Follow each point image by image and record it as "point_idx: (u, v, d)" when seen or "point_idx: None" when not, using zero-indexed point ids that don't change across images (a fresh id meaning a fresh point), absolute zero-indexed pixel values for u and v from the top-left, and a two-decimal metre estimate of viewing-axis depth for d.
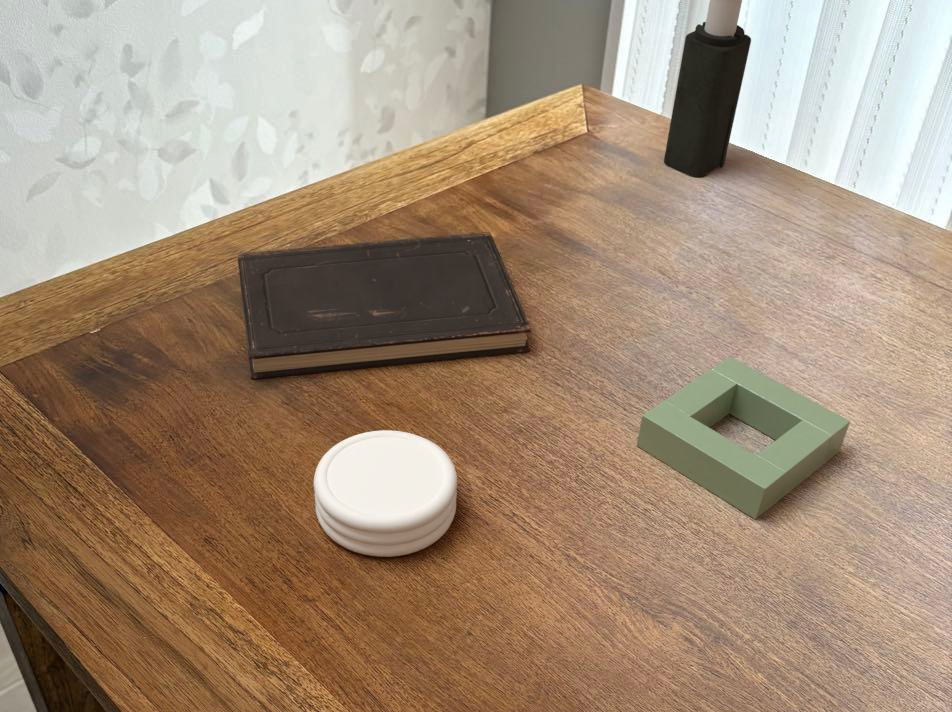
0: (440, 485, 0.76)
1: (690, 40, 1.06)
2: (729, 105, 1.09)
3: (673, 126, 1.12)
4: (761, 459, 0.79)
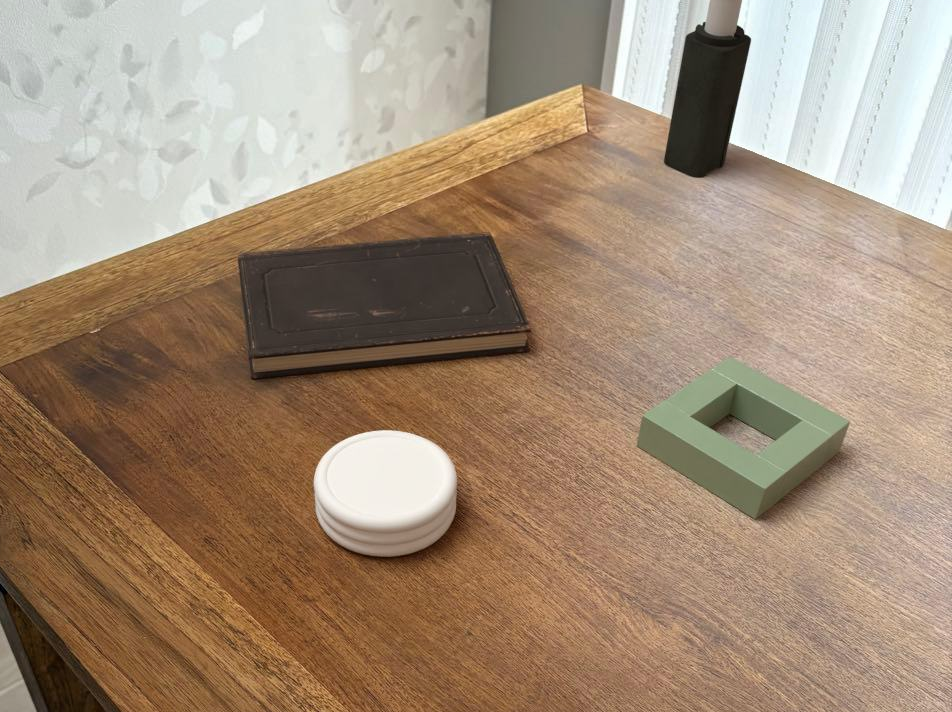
0: (440, 485, 0.76)
1: (690, 40, 1.06)
2: (729, 105, 1.09)
3: (673, 126, 1.12)
4: (761, 459, 0.79)
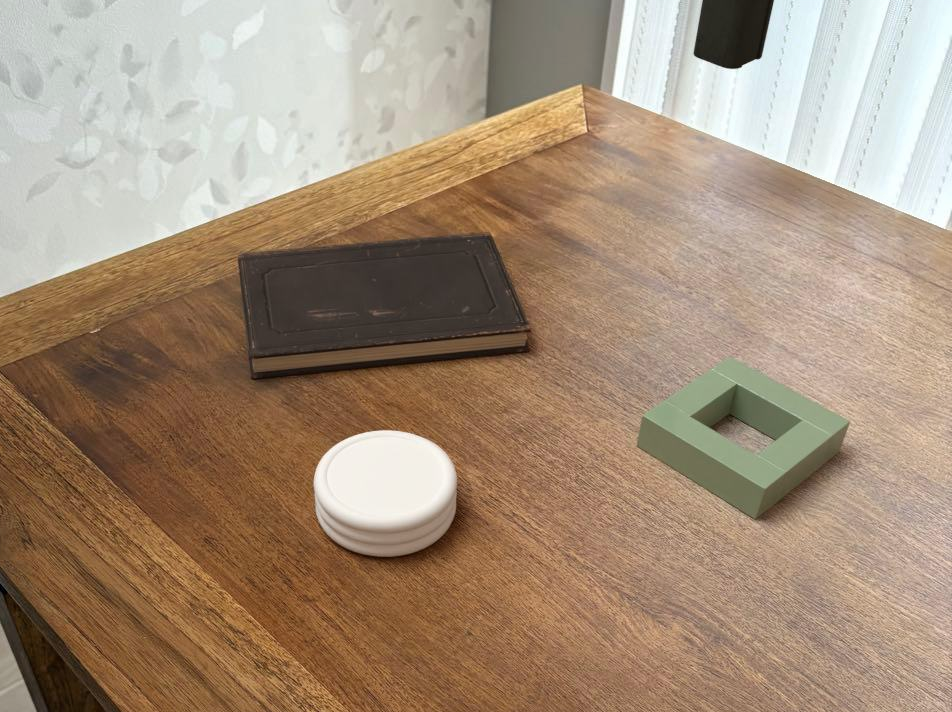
0: (440, 485, 0.76)
1: None
2: None
3: (704, 10, 0.99)
4: (761, 459, 0.79)
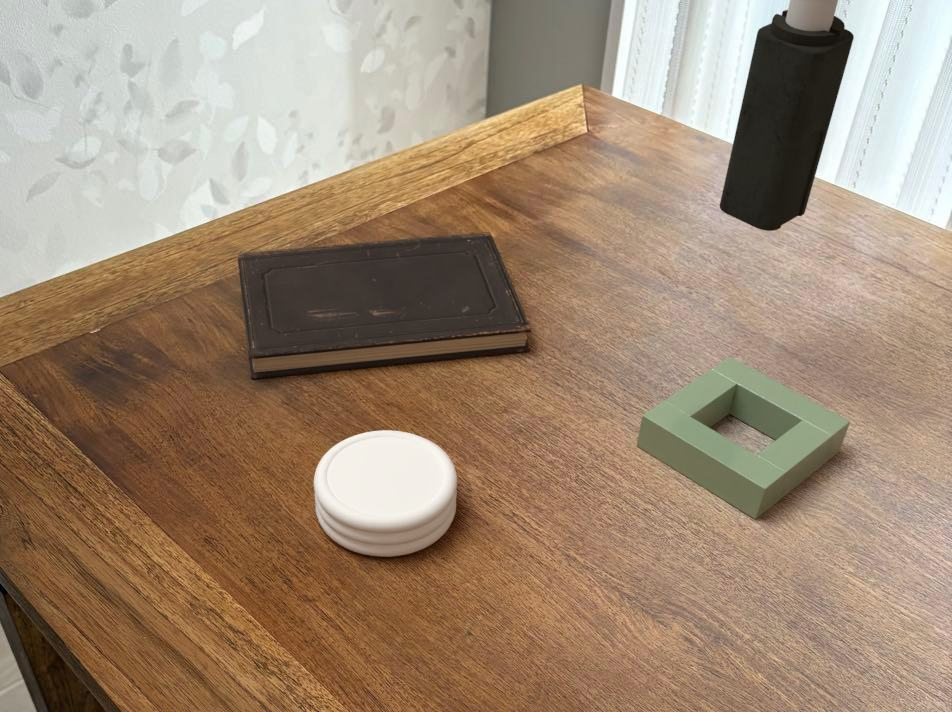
0: (440, 485, 0.76)
1: (765, 37, 0.73)
2: (818, 130, 0.76)
3: (735, 159, 0.79)
4: (761, 459, 0.79)
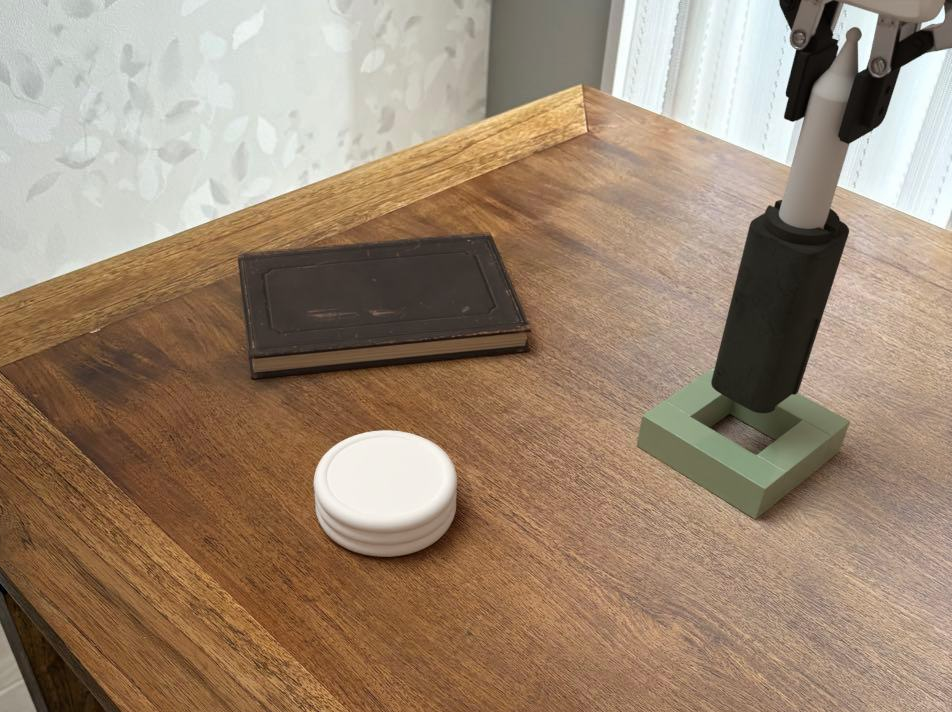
0: (440, 485, 0.76)
1: (757, 232, 0.70)
2: (813, 319, 0.73)
3: (727, 342, 0.76)
4: (761, 459, 0.79)
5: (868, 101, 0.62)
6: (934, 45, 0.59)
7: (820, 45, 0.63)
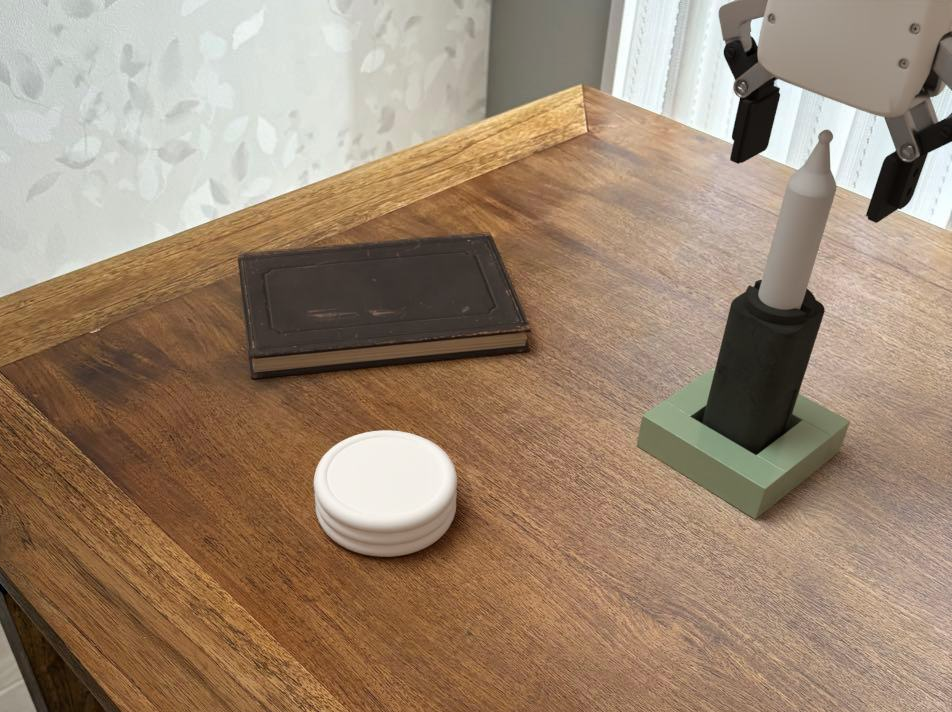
0: (440, 485, 0.76)
1: (738, 311, 0.74)
2: (791, 390, 0.78)
3: (711, 410, 0.80)
4: (761, 459, 0.79)
5: (896, 183, 0.64)
6: None
7: (762, 93, 0.68)
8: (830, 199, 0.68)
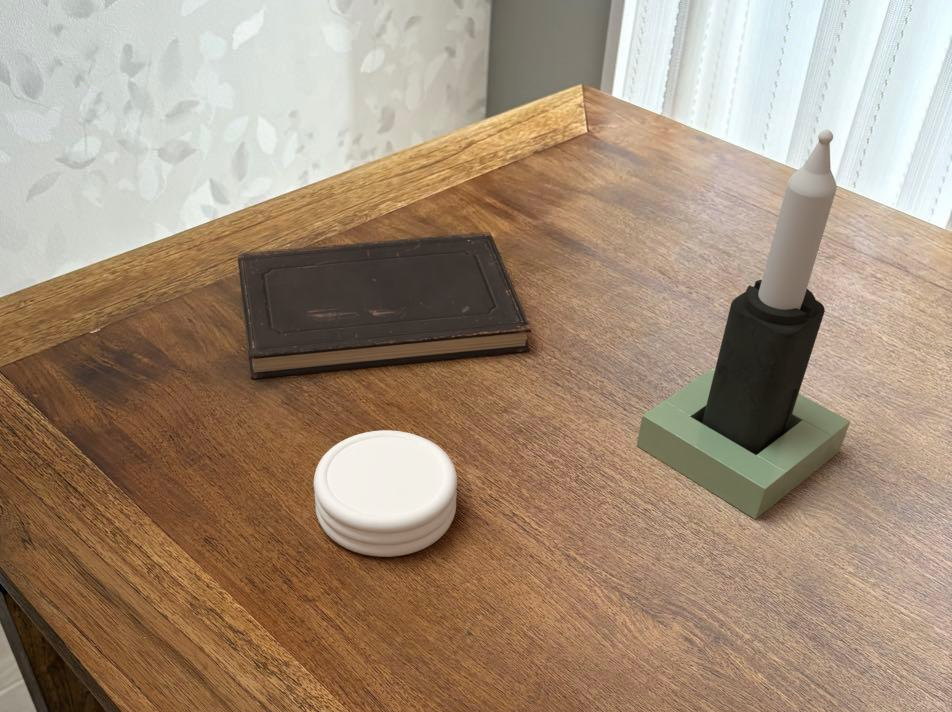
0: (440, 485, 0.76)
1: (738, 311, 0.74)
2: (791, 390, 0.78)
3: (711, 410, 0.80)
4: (761, 459, 0.79)
5: None
6: None
7: None
8: (830, 199, 0.68)
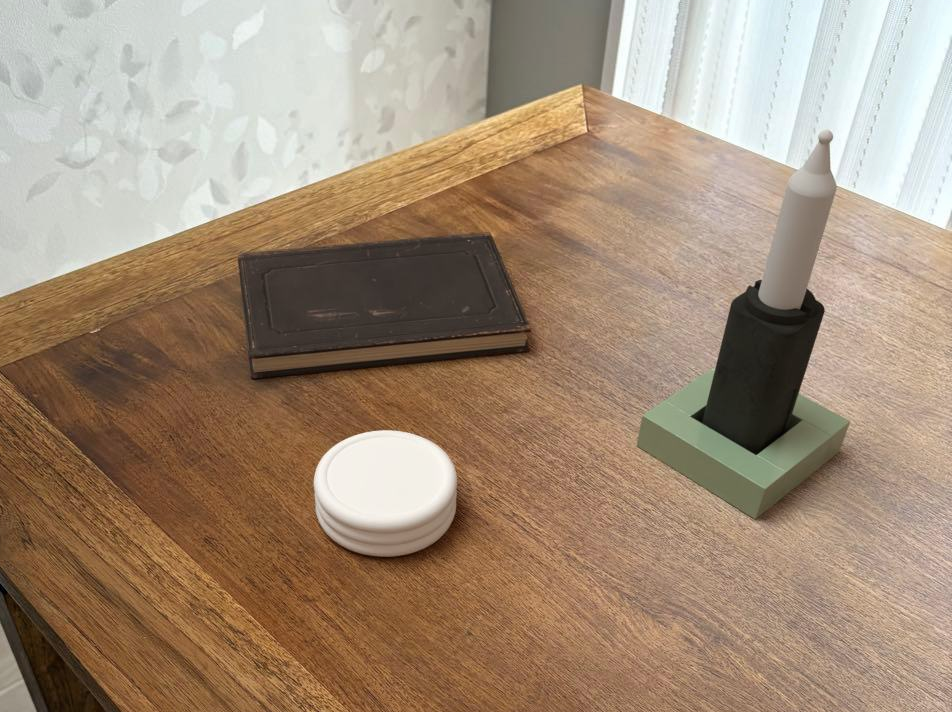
0: (440, 485, 0.76)
1: (738, 311, 0.74)
2: (791, 390, 0.78)
3: (711, 410, 0.80)
4: (761, 459, 0.79)
5: None
6: None
7: None
8: (830, 199, 0.68)
